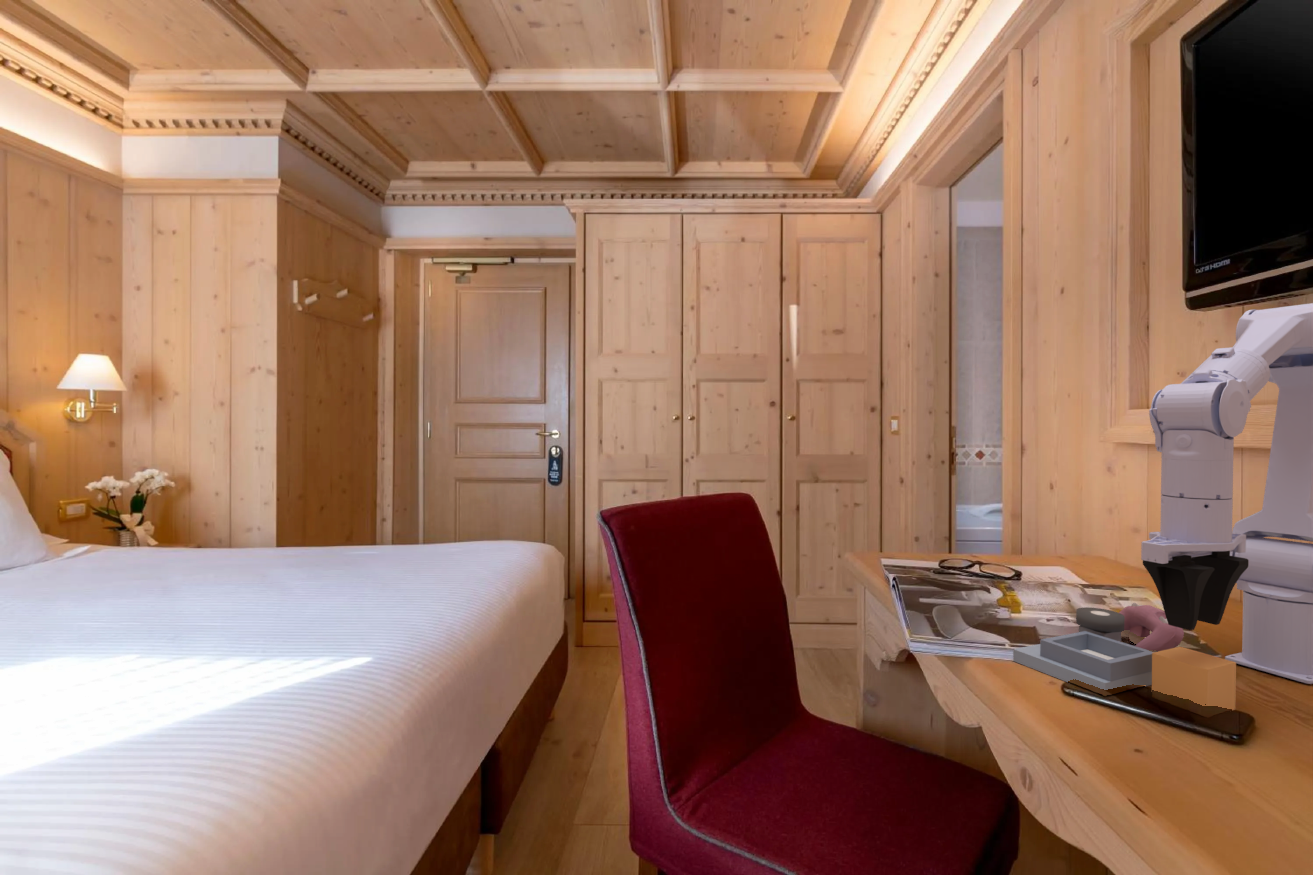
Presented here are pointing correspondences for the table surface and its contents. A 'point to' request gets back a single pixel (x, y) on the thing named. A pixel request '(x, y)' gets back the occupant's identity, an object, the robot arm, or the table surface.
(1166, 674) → the orange cube
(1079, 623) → the wheel
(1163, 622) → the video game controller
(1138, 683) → the chassis
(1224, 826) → the table surface
